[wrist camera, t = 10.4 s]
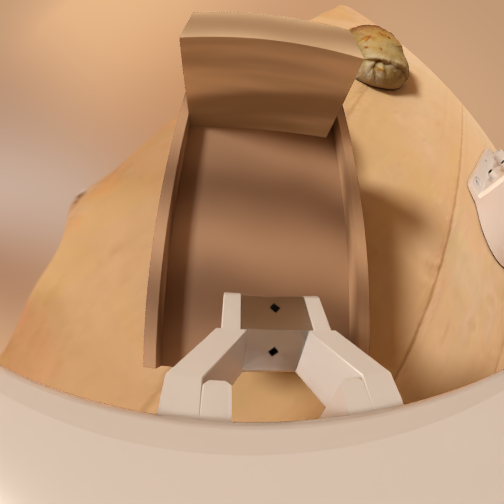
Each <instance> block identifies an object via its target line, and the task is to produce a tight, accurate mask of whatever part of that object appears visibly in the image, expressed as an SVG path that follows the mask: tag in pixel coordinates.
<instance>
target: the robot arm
mask: <svg viewBox="0 0 504 504" xmlns="http://www.w3.org/2000/svg"><path fill="white" fill-rule="evenodd" d="M468 188H469V190H470V193H471V195H472V197H473V199H474V201H475V204H476V207H477V211H478V216H479V220H480V223H481V227H482V230H483V233H484V236H485V238H486V240H487V243H488V245H489V247H490V249H491V251H492V253H493V255H494V256H495V258H496V259H497V261H498V262H499V263H500V264H501V265H502V266H503V267H504V151H503V150H502V149H498V150H497V151H496V152H495V153H494V152H493V151H491V150H490V149H488V148H487V149H485V150H484V151H483V153H482V155H481V157H480V159H479V161H478V163H477V165H476V167H475V169H474V171H473V173H472V174H471V176H470V178H469V180H468ZM242 370H282V371H295V372H296V373H297V374H298V376H299V377H300V378H301V379H302V380H303V381H304V383H305V384H306V385H307V386H308V387H309V388H310V390H311V391H312V392H313V393H314V394H315V395H316V396H317V398H318V399H319V400H320V401H321V402H322V403H323V404H324V406H325V407H326V408H325V410H324V411H323V413H322V414H321V416H320V417H319V419H314V420H302V421H284V422H232V385H233V383H234V382H235V381H236V379H237V378H238V377H239V375H240V374H241V372H242ZM0 504H504V369H503V370H501V371H499V372H496V373H494V374H492V375H490V376H487V377H485V378H483V379H480V380H478V381H475V382H473V383H470V384H468V385H465V386H463V387H460V388H457V389H454V390H451V391H448V392H446V393H442V394H439V395H436V396H433V397H430V398H426V399H423V400H419V401H416V402H412V403H408V404H404V403H403V401H402V398H401V396H400V394H399V391H398V389H397V386H396V384H395V382H394V379H393V377H392V375H391V373H390V372H389V371H388V370H387V369H385V368H384V367H383V366H382V365H380V364H379V363H378V362H376V361H375V360H374V359H372V358H371V357H370V356H368V355H367V354H366V353H364V352H363V351H362V350H360V349H359V348H358V347H357V346H355V345H354V344H353V343H351V342H350V341H349V340H347V339H346V338H345V337H343V336H342V335H341V334H340V333H338V332H337V331H336V330H335V331H331V328H330V325H329V323H328V320H327V317H326V315H325V312H324V309H323V306H322V304H321V301H320V299H319V297H318V296H302V297H298V296H272V295H259V294H245V293H241V294H240V293H229V292H224V297H223V310H222V323H221V328H216V329H215V330H213V331H212V332H211V333H210V334H209V335H208V336H207V337H206V338H205V339H204V340H203V341H202V342H200V343H199V344H198V345H197V346H196V347H195V348H194V349H193V350H192V351H191V352H190V353H188V354H187V355H186V356H185V357H184V358H183V359H182V360H181V361H180V362H178V363H177V364H176V365H175V366H174V367H173V368H172V369H171V370H170V371H168V372H167V373H166V374H165V379H164V384H163V388H162V393H161V398H160V403H159V408H158V413H157V414H152V413H146V412H141V411H136V410H131V409H126V408H121V407H117V406H113V405H109V404H105V403H101V402H97V401H93V400H90V399H86V398H83V397H79V396H76V395H73V394H70V393H67V392H64V391H61V390H58V389H55V388H52V387H50V386H47V385H44V384H42V383H39V382H37V381H34V380H32V379H29V378H27V377H25V376H22V375H20V374H18V373H16V372H13V371H11V370H9V369H7V368H5V367H3V366H1V365H0Z"/></svg>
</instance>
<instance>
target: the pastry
mask: <svg viewBox="0 0 504 504" xmlns="http://www.w3.org/2000/svg"><path fill="white" fill-rule="evenodd" d="M349 30H350V32H351V34H352V36H353V38H354V40H355V42H356V43H357V45H358V47H359V49H360V51H361V53H362V55H363V57H364V61H363V63H362V65H361V67H360V69H359V71H358V73H357V76H356V78H355V79H356V80H358V81H360V82H363V83H366V84H368V85H371V86H375V87H379V88H386V89H393V90H394V89H395V90H396V89H398V88H400V87H401V86H402V85H403V83H404V81H406V80H407V79H408V77H409V66H408V63H407V60H406V58H405V56H404V53H403V49H402V46H401V44H400V42H398V40H397V39H396V38H395V37H394V35H393V34H392V33H390V32H388V31H386V30H385V29H382V28H381V27H379V26H376V25H361V26H358V27H355V28H351V29H349Z"/></svg>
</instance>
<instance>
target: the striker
mask: <svg viewBox="0 0 504 504" xmlns="http://www.w3.org/2000/svg"><path fill="white" fill-rule="evenodd" d="M180 47H181V57H182V65H183V74H184V81H185V90H186V98H187V105H188V113H189V120H190V126H204V127H232V128H248V129H261V130H271V131H281V132H289V133H297V134H305V135H312V136H318V137H325V138H326V137H327V135H328V133H329V131H330V129H331V127H332V125H333V123H334V121H335V119H336V117H337V115H338V113H339V111H340V109H341V107H342V104H343V102H344V100H345V98H346V96H347V94H348V92H349V90H350V88H351V86H352V84H353V82H354V80H355V78H356V76H357V73H358V71H359V69H360V67H361V65H362V63H363V61H364V57H363V55H362V53H361V51H360V49H359V47H358V45H357V43H356V42H355V40H354V38H353V36H352V34H351V32H350V30H346V29H343V28H339V27H335V26H331V25H327V24H322V23H318V22H313V21H308V20H303V19H297V18H291V17H283V16H276V15H268V14H257V13H242V12H193V14H192V15H191V17H190V19H189V21H188V23H187V24H186V26H185V28H184V30H183V32H182V34H181V36H180Z"/></svg>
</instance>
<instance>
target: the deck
mask: <svg viewBox="0 0 504 504" xmlns="http://www.w3.org/2000/svg"><path fill="white" fill-rule="evenodd" d="M224 292H229V293H240V294H241V293H245V294H259V295H272V296H298V297H302V296H318V297H319V299H320V301H321V304H322V306H323V309H324V312H325V315H326V317H327V320H328V323H329V325H330V328H331V331H335V330H336V331H337V332H338V333H340V334H341V335H342V336H343V337H345V338H346V339H347V340H349V341H350V342H351V343H353V344H354V345H355V346H357V347H358V348H359V349H360V350H362V351H363V352H364V353H366V354H367V355H368V356H369V345H370V305H369V278H368V262H367V249H366V238H365V228H364V219H363V211H362V204H361V196H360V190H359V183H358V177H357V171H356V165H355V160H354V155H353V149H352V144H351V140H350V135H349V130H348V126H347V122H346V117H345V113H344V109H343V105H342V107H341V109H340V111H339V113H338V115H337V117H336V119H335V121H334V123H333V125H332V127H331V129H330V131H329V133H328V135H327V137H326V138H325V137H318V136H312V135H305V134H297V133H289V132H281V131H271V130H261V129H248V128H232V127H204V126H190V120H189V113H188V105H187V98H186V92H185V95H184V99H183V102H182V106H181V109H180V113H179V116H178V120H177V124H176V128H175V132H174V136H173V140H172V144H171V148H170V152H169V157H168V161H167V166H166V170H165V175H164V180H163V185H162V190H161V195H160V201H159V207H158V212H157V218H156V225H155V231H154V238H153V245H152V253H151V261H150V269H149V278H148V289H147V300H146V313H145V329H144V354H143V367H147V368H154V369H156V368H158V367H160V366H161V365H162V366H170V367H174V366H175V365H176V364H177V363H178V362H180V361H181V360H182V359H183V358H184V357H185V356H186V355H187V354H188V353H190V352H191V351H192V350H193V349H194V348H195V347H196V346H197V345H198V344H199V343H200V342H202V341H203V340H204V339H205V338H206V337H207V336H208V335H209V334H210V333H211V332H212V331H213V330H215V329H216V328H221V323H222V310H223V297H224ZM242 372H295V371H282V370H242Z"/></svg>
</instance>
